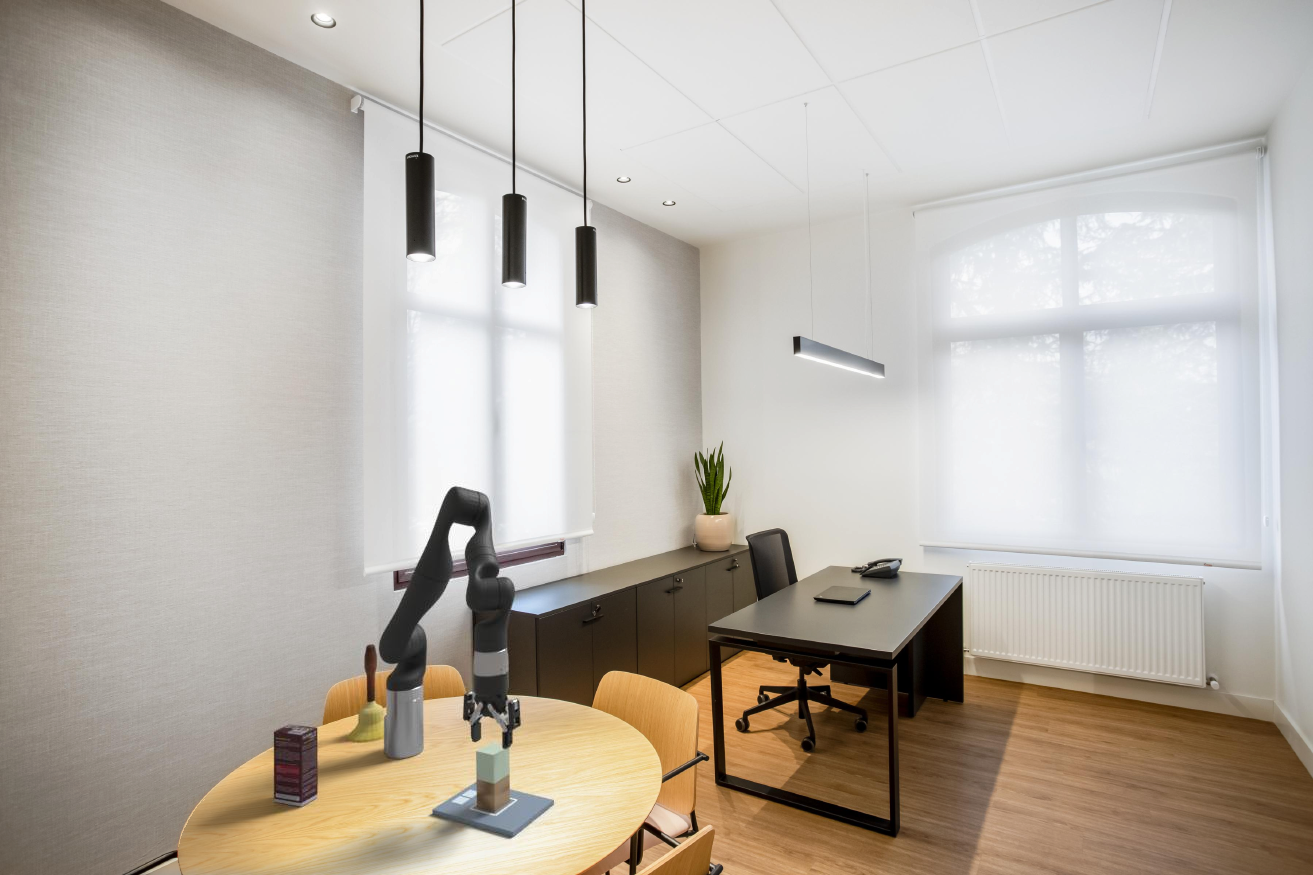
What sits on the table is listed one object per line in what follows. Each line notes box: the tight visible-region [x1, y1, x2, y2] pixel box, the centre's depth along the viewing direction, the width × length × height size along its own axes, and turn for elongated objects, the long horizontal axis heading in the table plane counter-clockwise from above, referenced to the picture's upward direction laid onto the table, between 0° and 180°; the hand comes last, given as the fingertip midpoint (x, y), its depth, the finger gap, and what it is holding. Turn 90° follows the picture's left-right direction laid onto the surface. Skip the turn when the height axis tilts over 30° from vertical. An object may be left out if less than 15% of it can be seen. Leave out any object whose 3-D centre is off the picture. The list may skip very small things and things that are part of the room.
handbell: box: [347, 643, 385, 744], centre depth 189 cm, size 12×12×25 cm
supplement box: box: [273, 724, 319, 808], centre depth 151 cm, size 9×5×16 cm, turn 71°
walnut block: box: [475, 774, 511, 812], centre depth 144 cm, size 5×5×6 cm
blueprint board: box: [431, 781, 555, 838], centre depth 144 cm, size 22×14×1 cm, turn 63°
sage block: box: [475, 742, 511, 784], centre depth 144 cm, size 5×5×6 cm
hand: (491, 744), depth 144 cm, fingers open, 8 cm apart
